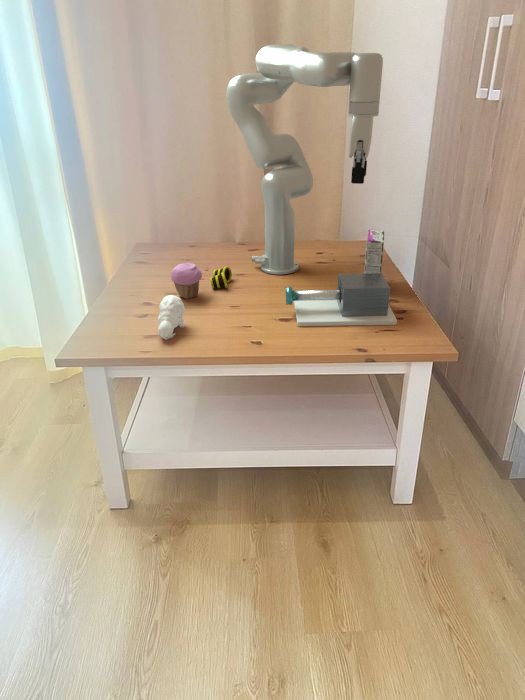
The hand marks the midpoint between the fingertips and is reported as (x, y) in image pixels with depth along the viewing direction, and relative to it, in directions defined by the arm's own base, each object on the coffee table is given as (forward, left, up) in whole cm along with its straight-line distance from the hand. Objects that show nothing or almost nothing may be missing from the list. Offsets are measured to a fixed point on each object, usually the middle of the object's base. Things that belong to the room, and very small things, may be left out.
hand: (358, 179), depth 143 cm
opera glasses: (-39, +9, -33) cm, 52 cm away
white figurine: (-50, -23, -33) cm, 64 cm away
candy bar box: (+7, +4, -33) cm, 34 cm away
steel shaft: (-8, -13, -30) cm, 34 cm away
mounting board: (-4, -13, -33) cm, 36 cm away
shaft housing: (+1, -13, -32) cm, 34 cm away
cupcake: (-48, 0, -33) cm, 58 cm away
